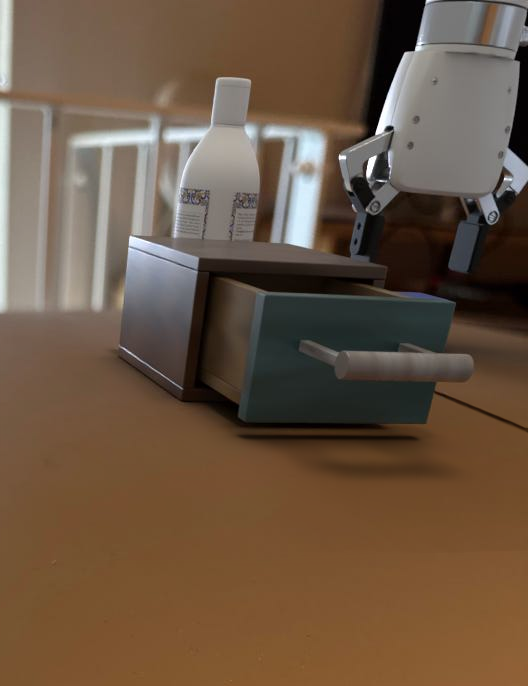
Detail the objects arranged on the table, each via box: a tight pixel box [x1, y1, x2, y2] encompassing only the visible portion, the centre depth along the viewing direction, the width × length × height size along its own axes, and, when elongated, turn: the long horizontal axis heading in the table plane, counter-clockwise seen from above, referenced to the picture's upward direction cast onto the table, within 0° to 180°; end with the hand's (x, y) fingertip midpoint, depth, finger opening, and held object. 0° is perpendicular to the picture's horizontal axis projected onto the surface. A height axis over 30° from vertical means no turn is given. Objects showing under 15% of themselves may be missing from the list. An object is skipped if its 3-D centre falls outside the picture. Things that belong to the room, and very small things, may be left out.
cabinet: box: [117, 234, 388, 403], centre depth 67 cm, size 15×13×9 cm
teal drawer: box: [196, 272, 475, 425], centre depth 56 cm, size 19×11×7 cm, turn 12°
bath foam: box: [173, 76, 261, 242], centre depth 85 cm, size 7×7×20 cm
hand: (411, 268), depth 83 cm, fingers open, 9 cm apart
